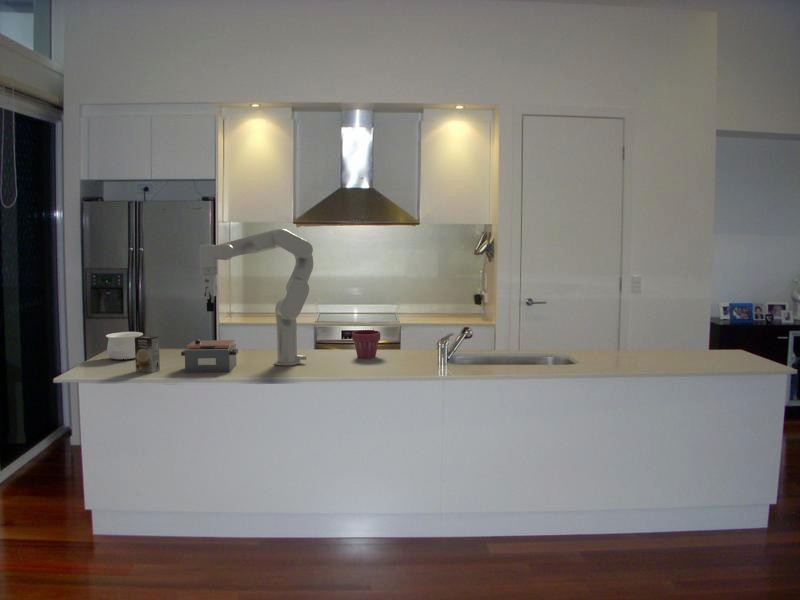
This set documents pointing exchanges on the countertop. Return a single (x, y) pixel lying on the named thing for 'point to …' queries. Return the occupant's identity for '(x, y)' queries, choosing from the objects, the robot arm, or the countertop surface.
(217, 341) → the lid
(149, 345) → the coffee box
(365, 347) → the plant pot
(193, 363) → the cooker base
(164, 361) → the countertop surface
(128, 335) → the pot
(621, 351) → the countertop surface
